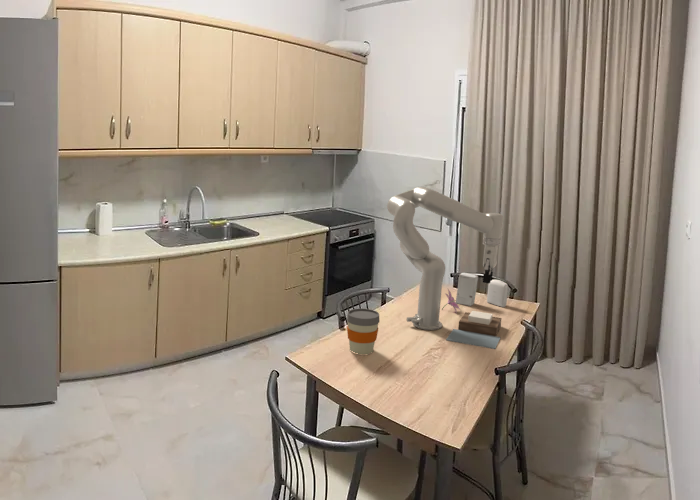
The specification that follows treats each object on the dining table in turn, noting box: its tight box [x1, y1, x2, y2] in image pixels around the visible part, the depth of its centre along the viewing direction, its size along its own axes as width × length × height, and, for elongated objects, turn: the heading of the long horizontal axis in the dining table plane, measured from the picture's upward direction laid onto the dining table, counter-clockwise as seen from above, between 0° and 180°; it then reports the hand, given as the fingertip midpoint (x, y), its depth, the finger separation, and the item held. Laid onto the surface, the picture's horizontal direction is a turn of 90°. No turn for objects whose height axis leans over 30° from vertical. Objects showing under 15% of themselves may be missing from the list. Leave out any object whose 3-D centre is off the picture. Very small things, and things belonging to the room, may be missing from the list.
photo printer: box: [486, 279, 509, 308], centre depth 298 cm, size 10×4×12 cm, turn 39°
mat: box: [445, 328, 501, 350], centre depth 251 cm, size 14×20×1 cm
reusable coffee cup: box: [346, 308, 380, 355], centre depth 231 cm, size 13×13×15 cm
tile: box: [468, 310, 493, 325], centre depth 262 cm, size 8×9×2 cm
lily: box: [441, 288, 461, 314], centre depth 286 cm, size 12×12×10 cm
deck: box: [457, 311, 502, 336], centre depth 264 cm, size 14×16×4 cm
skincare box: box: [455, 272, 479, 307], centre depth 297 cm, size 8×6×15 cm
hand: (487, 281), depth 268 cm, fingers open, 4 cm apart
